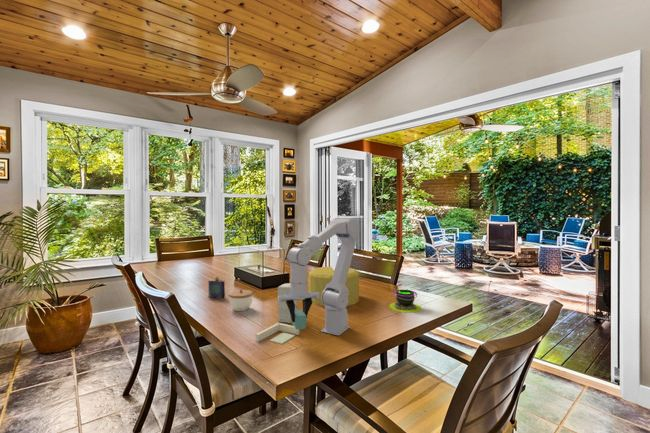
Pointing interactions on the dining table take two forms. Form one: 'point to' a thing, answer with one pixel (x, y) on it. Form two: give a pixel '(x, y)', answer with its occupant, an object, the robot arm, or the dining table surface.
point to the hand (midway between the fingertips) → (298, 320)
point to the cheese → (325, 275)
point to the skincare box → (282, 307)
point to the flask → (216, 288)
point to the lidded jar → (240, 299)
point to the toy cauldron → (405, 301)
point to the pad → (282, 338)
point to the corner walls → (276, 328)
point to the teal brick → (299, 320)
